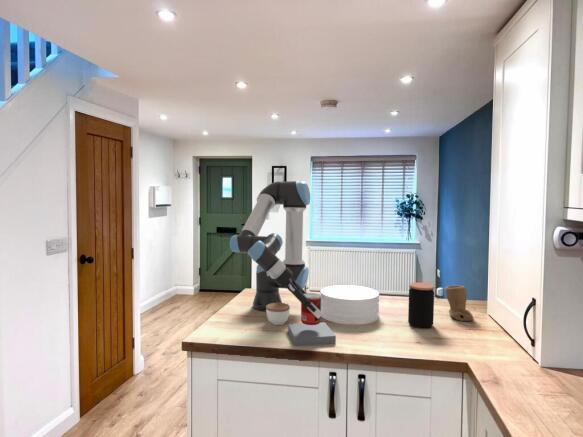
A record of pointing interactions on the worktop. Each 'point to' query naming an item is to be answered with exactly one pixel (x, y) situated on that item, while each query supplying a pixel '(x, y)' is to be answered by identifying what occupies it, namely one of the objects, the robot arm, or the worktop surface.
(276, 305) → the lidded jar
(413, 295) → the coffee jar
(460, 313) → the brown boot
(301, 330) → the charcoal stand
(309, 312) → the canned food
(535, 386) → the worktop surface
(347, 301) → the plate stack
